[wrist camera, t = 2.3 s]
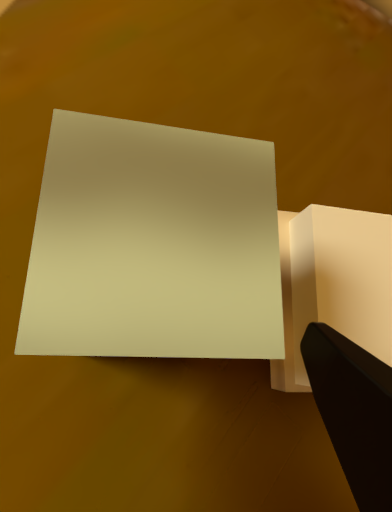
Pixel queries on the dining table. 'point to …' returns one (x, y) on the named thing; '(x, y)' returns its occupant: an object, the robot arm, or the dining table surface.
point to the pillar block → (153, 244)
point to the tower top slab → (342, 278)
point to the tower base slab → (286, 315)
